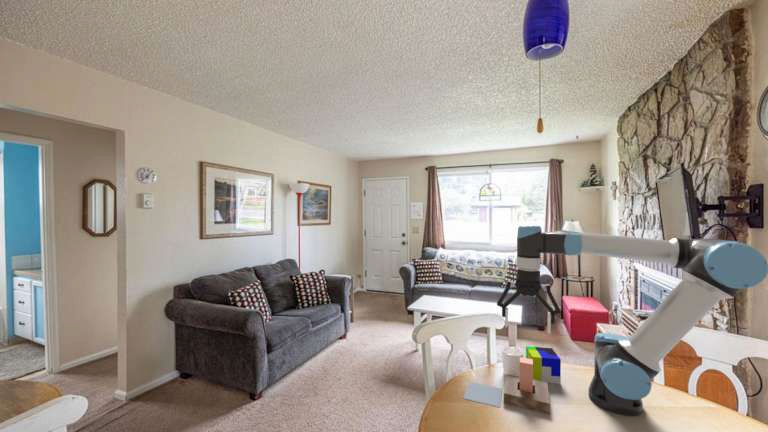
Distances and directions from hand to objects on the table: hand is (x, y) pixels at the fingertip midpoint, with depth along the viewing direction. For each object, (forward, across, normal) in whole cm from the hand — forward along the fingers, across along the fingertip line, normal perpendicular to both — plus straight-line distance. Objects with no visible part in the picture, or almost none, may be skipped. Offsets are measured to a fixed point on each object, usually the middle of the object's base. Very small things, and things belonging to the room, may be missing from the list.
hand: (527, 329), depth 109 cm
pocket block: (+25, 0, 0) cm, 25 cm away
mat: (+25, +14, +4) cm, 29 cm away
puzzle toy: (+25, -6, -19) cm, 32 cm away
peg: (+24, 0, 0) cm, 24 cm away
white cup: (+25, +5, -15) cm, 30 cm away
